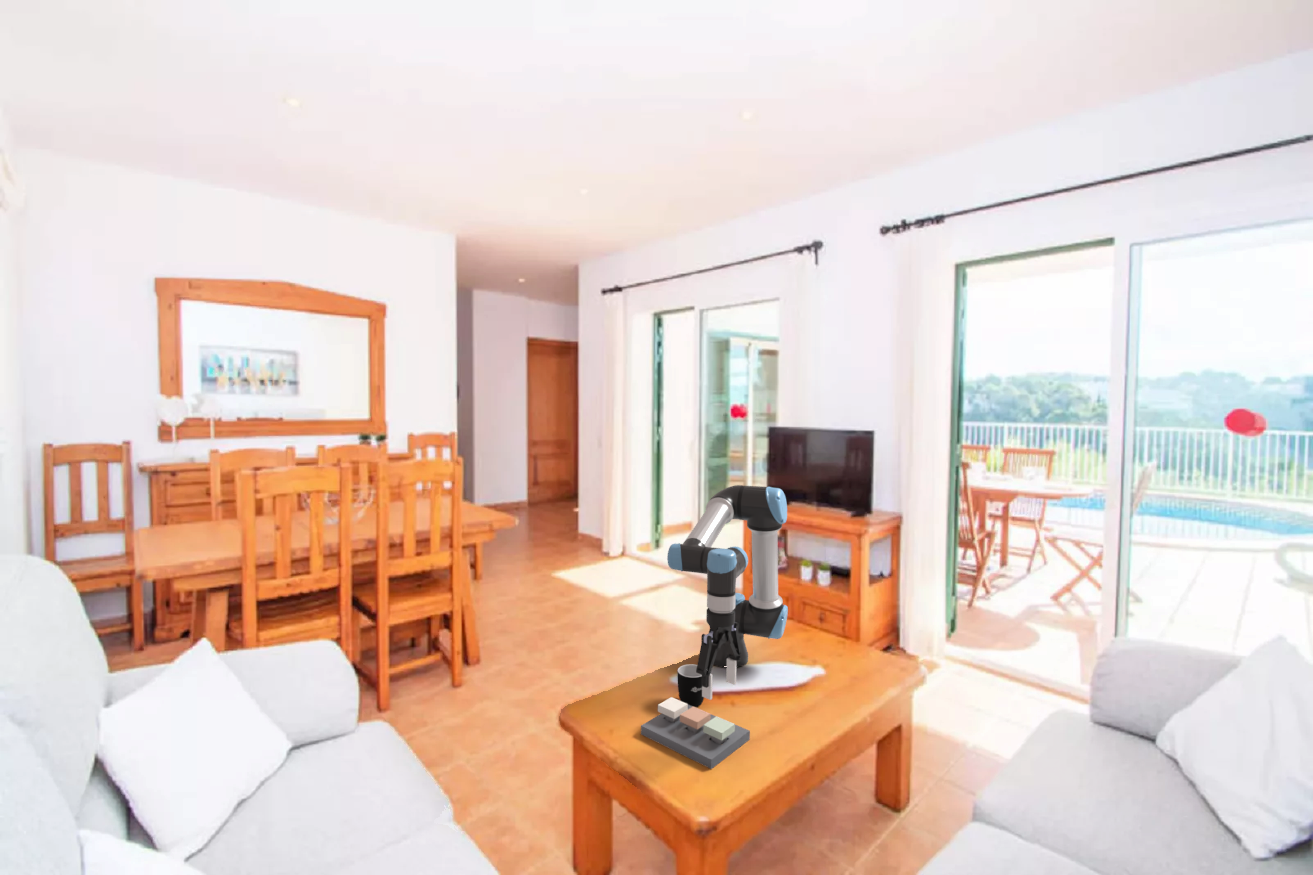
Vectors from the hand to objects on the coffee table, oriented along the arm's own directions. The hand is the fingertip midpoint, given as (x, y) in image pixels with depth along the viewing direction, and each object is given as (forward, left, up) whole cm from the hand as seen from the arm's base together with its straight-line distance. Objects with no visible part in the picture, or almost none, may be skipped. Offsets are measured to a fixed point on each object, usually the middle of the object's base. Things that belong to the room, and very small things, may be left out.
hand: (719, 690), depth 163 cm
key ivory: (0, -16, -14) cm, 21 cm away
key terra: (0, -8, -14) cm, 16 cm away
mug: (-16, -20, -16) cm, 30 cm away
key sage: (0, 0, -14) cm, 14 cm away
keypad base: (0, -8, -16) cm, 18 cm away
